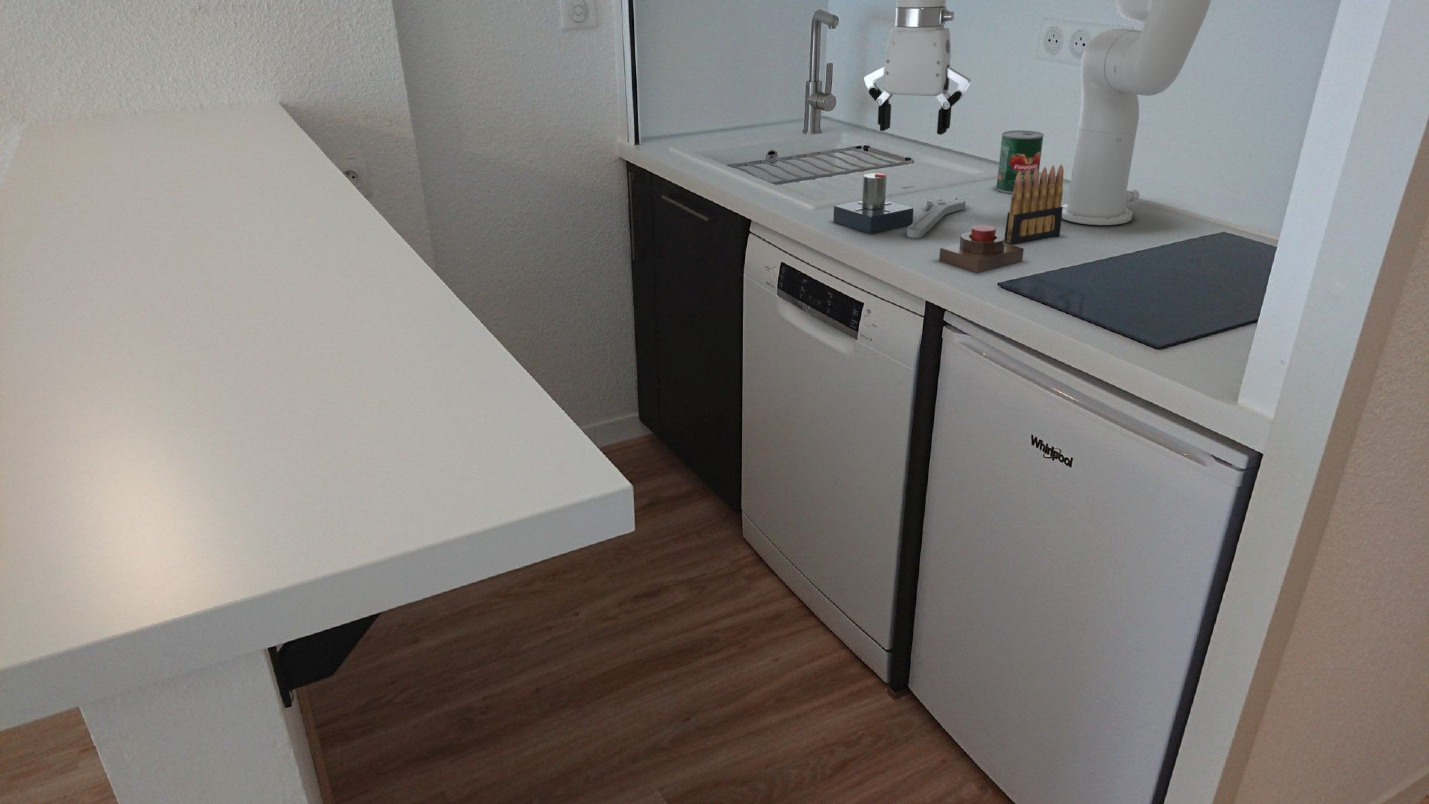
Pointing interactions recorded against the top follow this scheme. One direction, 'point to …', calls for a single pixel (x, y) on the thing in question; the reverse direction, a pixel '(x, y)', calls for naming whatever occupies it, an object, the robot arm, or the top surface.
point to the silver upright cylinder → (874, 191)
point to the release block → (981, 253)
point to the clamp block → (873, 216)
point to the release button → (983, 232)
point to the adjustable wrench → (934, 215)
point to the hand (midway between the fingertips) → (912, 131)
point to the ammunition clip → (1035, 207)
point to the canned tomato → (1018, 157)
